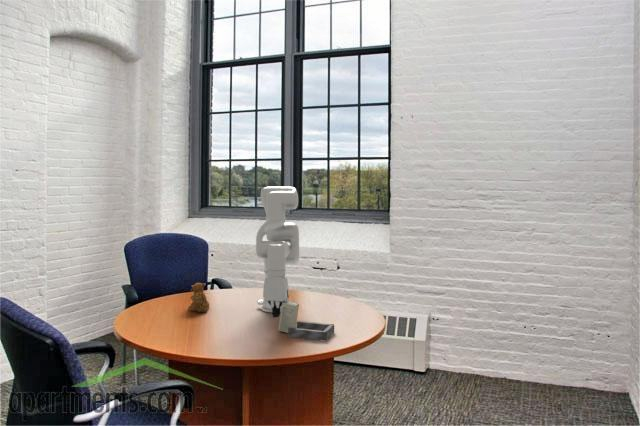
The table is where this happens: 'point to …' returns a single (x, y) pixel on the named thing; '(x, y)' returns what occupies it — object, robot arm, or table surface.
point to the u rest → (311, 330)
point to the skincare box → (288, 316)
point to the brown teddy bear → (198, 299)
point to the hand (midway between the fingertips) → (276, 316)
